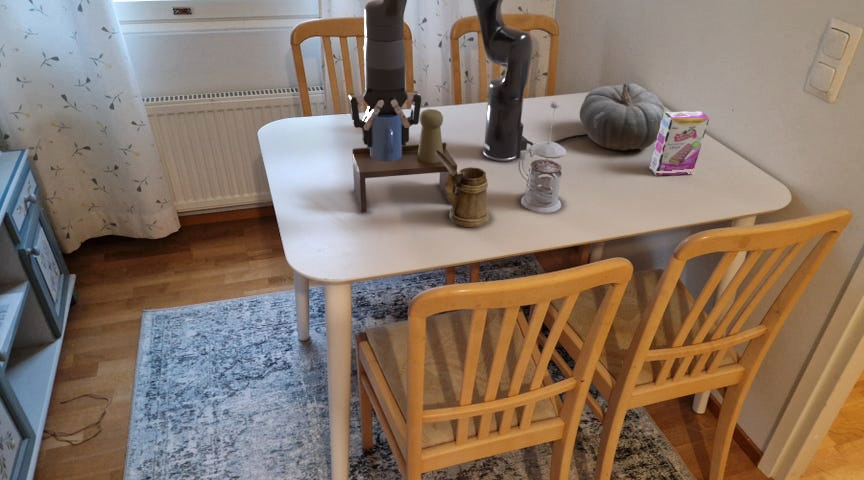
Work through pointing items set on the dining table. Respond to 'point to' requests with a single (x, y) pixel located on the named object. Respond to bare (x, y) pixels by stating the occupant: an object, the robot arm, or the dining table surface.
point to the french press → (543, 195)
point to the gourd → (622, 116)
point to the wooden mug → (466, 194)
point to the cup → (386, 137)
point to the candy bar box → (678, 141)
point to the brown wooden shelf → (395, 169)
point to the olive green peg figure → (430, 136)
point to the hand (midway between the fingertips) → (386, 144)
